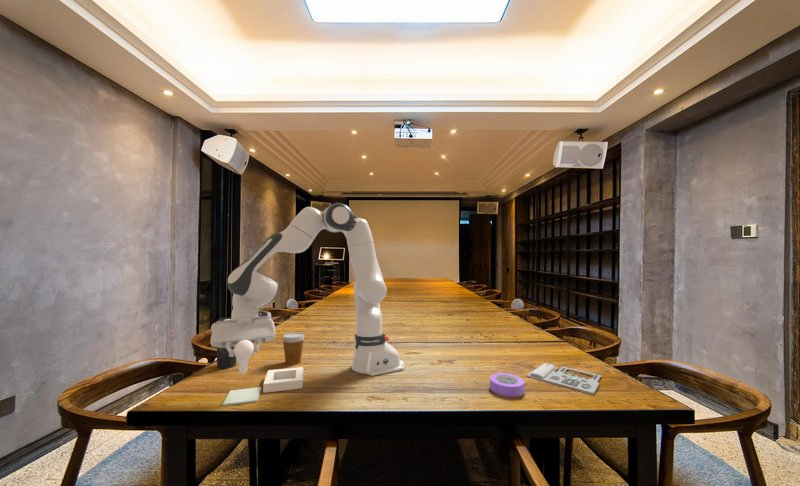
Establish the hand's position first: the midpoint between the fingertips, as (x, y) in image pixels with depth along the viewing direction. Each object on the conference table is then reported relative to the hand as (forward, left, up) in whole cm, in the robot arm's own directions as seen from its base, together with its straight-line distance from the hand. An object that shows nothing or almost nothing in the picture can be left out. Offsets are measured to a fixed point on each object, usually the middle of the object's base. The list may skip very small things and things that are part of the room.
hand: (243, 354), depth 104 cm
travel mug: (+13, -34, -15) cm, 39 cm away
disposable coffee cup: (-14, -31, -15) cm, 37 cm away
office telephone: (-118, +15, -15) cm, 120 cm away
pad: (0, -1, -14) cm, 14 cm away
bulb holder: (-12, -9, -14) cm, 21 cm away
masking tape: (-89, +18, -15) cm, 93 cm away
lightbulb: (0, -1, -7) cm, 7 cm away
